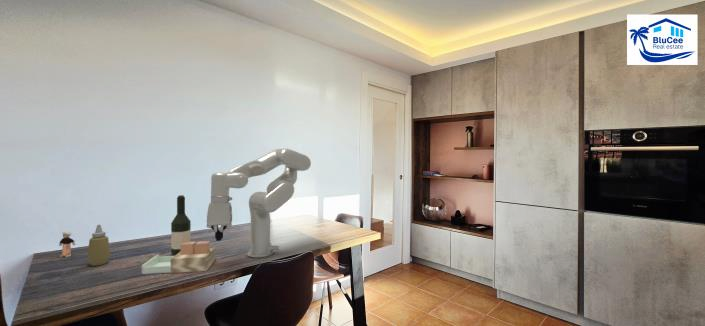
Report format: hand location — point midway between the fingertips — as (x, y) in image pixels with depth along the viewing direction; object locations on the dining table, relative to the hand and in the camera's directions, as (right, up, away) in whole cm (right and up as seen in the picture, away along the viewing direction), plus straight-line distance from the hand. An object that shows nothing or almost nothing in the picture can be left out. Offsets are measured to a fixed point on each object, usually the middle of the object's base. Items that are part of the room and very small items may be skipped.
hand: (219, 240), depth 132 cm
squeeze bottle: (-56, -11, +1) cm, 57 cm away
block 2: (-7, -5, -1) cm, 9 cm away
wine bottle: (-25, -11, +14) cm, 31 cm away
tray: (-23, -11, -4) cm, 26 cm away
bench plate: (-10, -11, -1) cm, 15 cm away
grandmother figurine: (-81, -11, +12) cm, 83 cm away
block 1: (-13, -5, -2) cm, 14 cm away
